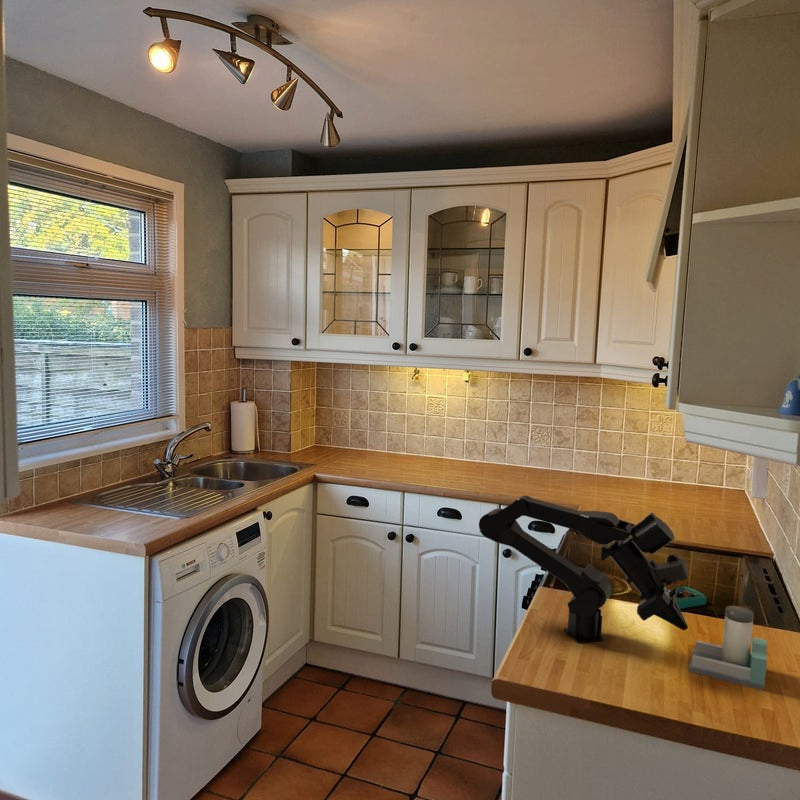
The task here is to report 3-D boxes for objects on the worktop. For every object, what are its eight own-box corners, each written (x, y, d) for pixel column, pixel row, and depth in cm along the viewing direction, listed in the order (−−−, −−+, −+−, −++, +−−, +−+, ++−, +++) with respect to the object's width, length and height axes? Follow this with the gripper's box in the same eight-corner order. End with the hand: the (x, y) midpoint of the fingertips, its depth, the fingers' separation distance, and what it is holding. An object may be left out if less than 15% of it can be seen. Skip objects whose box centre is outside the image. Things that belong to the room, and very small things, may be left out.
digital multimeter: (708, 605, 170) (709, 594, 170) (665, 614, 163) (665, 602, 163) (684, 595, 176) (685, 584, 176) (642, 603, 170) (643, 591, 170)
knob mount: (688, 671, 134) (690, 642, 133) (693, 652, 143) (695, 624, 142) (764, 690, 128) (766, 660, 127) (764, 668, 136) (766, 640, 136)
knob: (720, 667, 133) (724, 612, 132) (721, 657, 138) (726, 603, 137) (748, 674, 131) (753, 618, 130) (749, 664, 135) (753, 609, 134)
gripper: (660, 557, 131) (716, 625, 127) (672, 534, 147) (722, 594, 143) (615, 586, 136) (667, 654, 131) (631, 561, 152) (678, 620, 148)
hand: (686, 628), depth 138 cm, fingers closed
